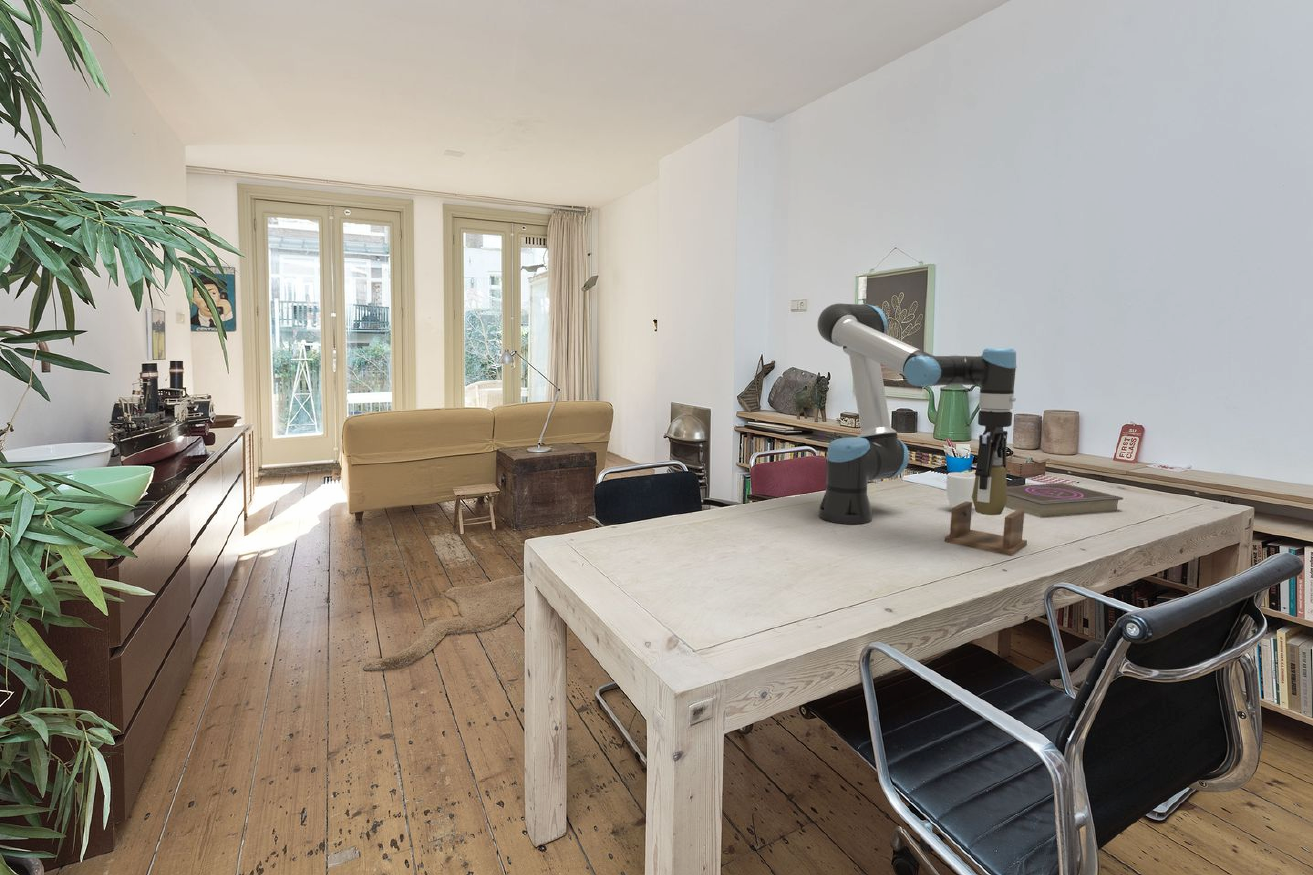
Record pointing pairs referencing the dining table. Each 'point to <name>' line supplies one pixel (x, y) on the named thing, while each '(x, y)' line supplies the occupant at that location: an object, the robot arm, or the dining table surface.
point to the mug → (960, 488)
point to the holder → (986, 541)
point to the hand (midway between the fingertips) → (989, 498)
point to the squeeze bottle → (993, 490)
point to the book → (1059, 500)
